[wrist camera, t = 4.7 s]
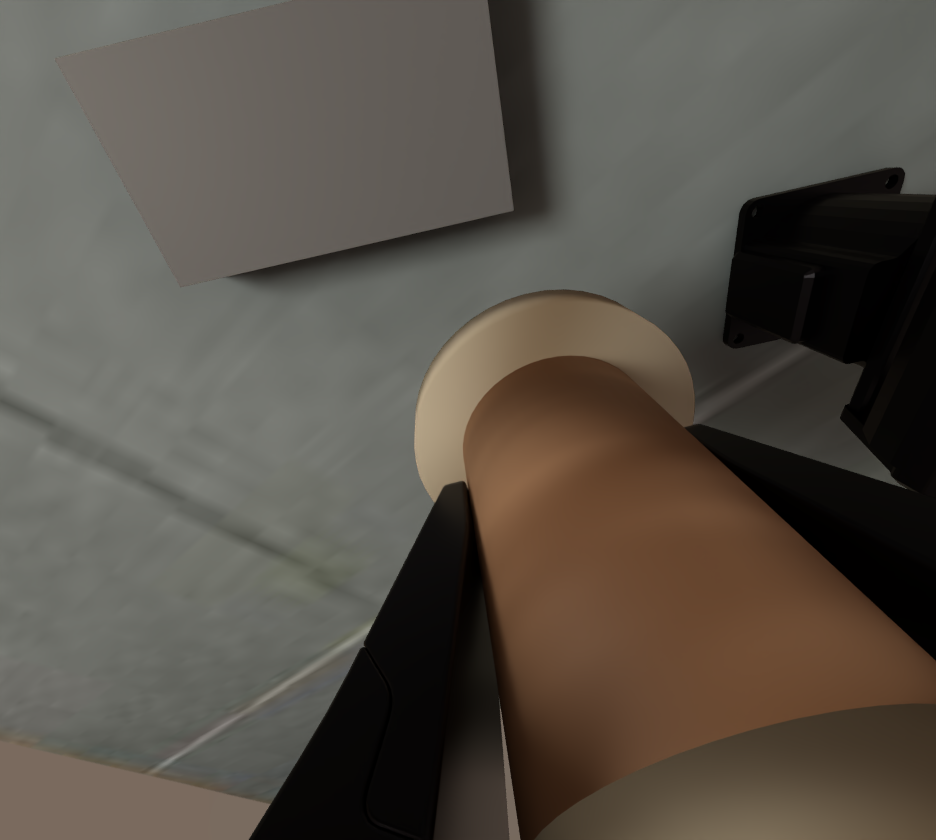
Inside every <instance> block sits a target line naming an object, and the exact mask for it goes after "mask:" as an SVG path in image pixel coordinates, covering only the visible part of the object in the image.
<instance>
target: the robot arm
mask: <svg viewBox="0 0 936 840" xmlns="http://www.w3.org/2000/svg"><path fill="white" fill-rule="evenodd" d="M904 177H905V173H904V170H903V169H902V168H884V169H879V170H875V171H871V172H866V173H862V174H857V175H853V176H849V177H844V178H840V179H835V180H831V181H827V182H822V183H818V184H813V185H809V186H805V187H800V188H796V189H791V190H787V191H783V192H778V193H774V194H770V195H765V196H761V197H756V198H752V199H750V200H748V201H747V202H746V203H745V204H744V205H743V206H742V208H741V210H740V213H739V220H738V227H737V235H736V242H735V250H734V257H733V259H732V264H731V272H730V280H729V288H728V295H727V303H726V319H725V327H724V334H723V342H724V343H725V345H727V346H729V347H731V348H741V347H745V346H750V345H755V344H759V343H764V342H768V341H773V340H777V339H783V340H786V341H788V342H790V343H794V344H796V343H798V344H800V345H803V346H805V347H807V348H810V349H812V350H814V351H817V352H819V353H821V354H824V355H826V356H829V357H831V358H833V359H836V360H838V361H840V362H843V363H845V364H850V363H855V364H857V365H860V366H862V367H864V369H863V372H862V374H861V377H860V379H859V381H858V384H857V386H856V389H855V391H854V393H853V396H852V398H851V401H850V403H849V404H847V405H845V407H844V409H843V411H842V414H841V416H840V419H841V420H842V421H843V422H844V423H845V424H846V426H847V427H848V428H849V429H850V430H851V431H852V432H853V433H854V434H855V435H856V436H857V437H858V438H859V439H860V440H861V441H862V442H863V443H864V445H865V446H866V447H867V448H868V449H869V450H870V451H871V452H872V453H873V454H874V455H875V456H876V457H877V458H878V459H879V460H880V461H881V462H882V463H883V465H884V466H885V467H886V468H887V469H888V470H889V471H890V472H891V476H892V477H893V478H894V479H895V480H896V481H897V482H898V483H899V484H900V485H902V486H904V487H905V488H907V489H905V488H902V487H898V486H895V485H892V484H889V483H886V482H883V481H879V480H876V479H873V478H870V477H867V476H864V475H860V474H857V473H854V472H851V471H848V470H845V469H841V468H838V467H835V466H832V465H829V464H826V463H822V462H819V461H816V460H813V459H810V458H806V457H803V456H800V455H797V454H794V453H791V452H787V451H784V450H781V449H778V448H775V447H772V446H768V445H765V444H762V443H759V442H756V441H753V440H749V439H746V438H743V437H740V436H737V435H734V434H730V433H727V432H724V431H721V430H718V429H715V428H711V427H708V426H705V425H702V424H695V425H691V426H687V427H684V428H685V429H686V430H687V431H688V432H689V433H691V434H692V435H693V436H694V437H695V438H696V439H697V440H698V441H699V442H700V443H701V444H702V445H703V446H705V447H706V448H707V449H708V450H709V451H710V452H711V453H712V454H713V455H714V456H715V457H716V458H718V459H719V460H720V461H721V462H722V463H723V464H724V465H725V466H726V467H727V468H728V469H729V470H730V471H732V472H733V473H734V474H735V475H736V476H737V477H738V478H739V479H740V480H741V481H742V482H743V483H744V484H746V485H747V486H748V487H749V488H750V489H751V490H752V491H753V492H754V493H755V494H756V495H757V496H759V497H760V498H761V499H762V500H763V501H764V502H765V503H766V504H767V505H768V506H769V507H770V508H771V509H773V510H774V511H775V512H776V513H777V514H778V515H779V516H780V517H781V518H782V519H783V520H784V521H785V522H787V523H788V524H789V525H790V526H791V527H792V528H793V529H794V530H795V531H796V532H797V533H798V534H800V535H801V536H802V537H803V538H804V539H805V540H806V541H807V542H808V543H809V544H810V545H811V546H812V547H814V548H815V549H816V550H817V551H818V552H819V553H820V554H821V555H822V556H823V557H824V558H825V559H826V560H828V561H829V562H830V563H831V564H832V565H833V566H834V567H835V568H836V569H837V570H838V571H839V572H841V573H842V574H843V575H844V576H845V577H846V578H847V579H848V580H849V581H850V582H851V583H852V584H853V585H855V586H856V587H857V588H858V589H859V590H860V591H861V592H862V593H863V594H864V595H865V596H866V597H867V598H869V599H870V600H871V601H872V602H873V603H874V604H875V605H876V606H877V607H878V608H879V609H880V610H882V611H883V612H884V613H885V614H886V615H887V616H888V617H889V618H890V619H891V620H892V621H893V622H894V623H896V624H897V625H898V626H899V627H900V628H901V629H902V630H903V631H904V632H905V633H906V634H907V635H908V636H910V637H911V638H912V639H913V640H914V641H915V642H916V643H917V644H918V645H919V646H920V647H921V648H923V649H924V650H925V651H926V652H927V653H928V654H929V655H930V656H931V657H932V658H933V659H934V660H935V661H936V195H926V194H900V191H901V188H902V184H903V181H904ZM888 178H889V181H888V183H887V184H886V185H885V183H886V181H887V179H888ZM755 207H757V212H756V214H755V215H754V217H752V211H753V209H754V208H755ZM737 334H738V337H737V338H736V339H735V340H733V339H734V337H735V336H736V335H737ZM364 646H365V647H362V648H361V649H360V650H359V652H358V654H357V656H356V658H355V660H354V662H353V664H352V666H351V668H350V670H349V672H348V674H347V676H346V677H345V679H344V681H343V683H342V685H341V687H340V689H339V690H338V692H337V694H336V696H335V698H334V700H333V702H332V703H331V705H330V707H329V709H328V711H327V713H326V714H325V716H324V718H323V719H322V721H321V723H320V724H319V726H318V728H317V729H316V731H315V733H314V734H313V736H312V738H311V739H310V741H309V743H308V744H307V746H306V748H305V749H304V751H303V753H302V755H301V756H300V758H299V760H298V761H297V763H296V764H295V766H294V768H293V769H292V771H291V772H290V774H289V776H288V777H287V779H286V780H285V782H284V784H283V785H282V787H281V788H280V790H279V792H278V793H277V795H276V797H275V798H274V800H273V801H272V803H271V805H270V806H269V808H268V809H267V811H266V813H265V815H264V816H263V817H262V819H261V821H260V822H259V824H258V825H257V827H256V829H255V830H254V832H253V833H252V835H251V837H250V839H249V840H509V828H508V815H507V801H506V788H505V773H504V760H503V747H502V733H501V721H500V720H501V719H500V705H499V692H498V685H497V679H496V672H495V665H494V659H493V652H492V645H491V639H490V632H489V625H488V619H487V612H486V605H485V599H484V592H483V585H482V579H481V572H480V565H479V559H478V552H477V545H476V539H475V532H474V525H473V518H472V512H471V505H470V498H469V492H468V488H467V485H466V483H465V482H464V481H458V482H454V483H450V484H446V485H445V486H443V488H442V490H441V492H440V494H439V496H438V498H437V500H436V502H435V504H434V506H433V507H432V509H431V511H430V513H429V515H428V517H427V519H426V521H425V523H424V525H423V527H422V529H421V531H420V533H419V535H418V537H417V539H416V541H415V543H414V545H413V547H412V549H411V551H410V553H409V555H408V557H407V559H406V560H405V562H404V564H403V566H402V568H401V570H400V572H399V574H398V576H397V578H396V580H395V582H394V584H393V586H392V588H391V590H390V592H389V594H388V596H387V598H386V600H385V602H384V604H383V606H382V608H381V610H380V612H379V613H378V615H377V617H376V619H375V621H374V623H373V625H372V627H371V629H370V631H369V633H368V635H367V637H366V639H365V641H364Z"/></svg>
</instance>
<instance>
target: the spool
mask: <svg viewBox="0 0 936 840" xmlns="http://www.w3.org/2000/svg"><path fill="white" fill-rule="evenodd" d="M694 412H695V394H694V387H693V381H692V377H691V374H690V371H689V369H688V366H687V363H686V361H685V360H684V358H683V356H682V354H681V352H680V351H679V349H678V348H677V347H676V345H675V344H674V343H673V342H672V340H671V339H670V338H669V337H668V336H667V335H666V334H665V333H664V332H662V331H661V330H660V329H659V328H658V327H657V326H656V325H654V324H652V323H651V322H649V321H647V320H646V319H644V318H643V317H641V316H639V315H638V314H636V313H634V312H633V311H631V310H629V309H628V308H626V307H624V306H623V305H621V304H619V303H618V302H616V301H613V300H611V299H608V298H606V297H603V296H601V295H597V294H593V293H588V292H584V291H575V290H544V291H539V292H533V293H528V294H524V295H521V296H517V297H514V298H511V299H508V300H505V301H503V302H501V303H499V304H497V305H495V306H493V307H490V308H488V309H487V310H485V311H483V312H482V313H480V314H479V315H477V316H476V317H474V318H472V319H471V320H470V321H469V322H467V323H466V324H465V325H464V326H463V327H461V328H460V329H459V330H458V331H456V332H455V334H454V335H453V336H452V337H451V338H450V339H449V340H448V341H447V342H446V343H445V344H444V345H443V347H442V348H441V350H440V351H439V352H438V354H437V355H436V357H435V358H434V359H433V361H432V363H431V365H430V367H429V369H428V370H427V372H426V374H425V376H424V379H423V382H422V385H421V388H420V390H419V394H418V399H417V404H416V416H415V445H414V448H415V457H416V464H417V467H418V471H419V475H420V478H421V480H422V482H423V484H424V486H425V489H426V491H427V492H428V494H429V495H430V497H431V498H432V500H433V501H434V503H435V502H436V500H437V498H438V496H439V494H440V492H441V490H442V488H443V486H445V485H446V484H450V483H454V482H458V481H464V482H465V483H466V485H467V488H468V492H469V498H470V505H471V512H472V518H473V525H474V532H475V539H476V545H477V552H478V559H479V565H480V572H481V579H482V585H483V592H484V599H485V605H486V612H487V619H488V625H489V632H490V639H491V645H492V652H493V659H494V665H495V672H496V679H497V685H498V692H499V699H500V705H501V712H502V719H503V725H504V732H505V739H506V745H507V752H508V759H509V765H510V772H511V779H512V786H513V791H514V799H515V806H516V812H517V819H518V826H519V832H520V839H521V840H936V661H935V660H934V659H933V658H932V657H931V656H930V655H929V654H928V653H927V652H926V651H925V650H924V649H923V648H921V647H920V646H919V645H918V644H917V643H916V642H915V641H914V640H913V639H912V638H911V637H910V636H908V635H907V634H906V633H905V632H904V631H903V630H902V629H901V628H900V627H899V626H898V625H897V624H896V623H894V622H893V621H892V620H891V619H890V618H889V617H888V616H887V615H886V614H885V613H884V612H883V611H882V610H880V609H879V608H878V607H877V606H876V605H875V604H874V603H873V602H872V601H871V600H870V599H869V598H867V597H866V596H865V595H864V594H863V593H862V592H861V591H860V590H859V589H858V588H857V587H856V586H855V585H853V584H852V583H851V582H850V581H849V580H848V579H847V578H846V577H845V576H844V575H843V574H842V573H841V572H839V571H838V570H837V569H836V568H835V567H834V566H833V565H832V564H831V563H830V562H829V561H828V560H826V559H825V558H824V557H823V556H822V555H821V554H820V553H819V552H818V551H817V550H816V549H815V548H814V547H812V546H811V545H810V544H809V543H808V542H807V541H806V540H805V539H804V538H803V537H802V536H801V535H800V534H798V533H797V532H796V531H795V530H794V529H793V528H792V527H791V526H790V525H789V524H788V523H787V522H785V521H784V520H783V519H782V518H781V517H780V516H779V515H778V514H777V513H776V512H775V511H774V510H773V509H771V508H770V507H769V506H768V505H767V504H766V503H765V502H764V501H763V500H762V499H761V498H760V497H759V496H757V495H756V494H755V493H754V492H753V491H752V490H751V489H750V488H749V487H748V486H747V485H746V484H744V483H743V482H742V481H741V480H740V479H739V478H738V477H737V476H736V475H735V474H734V473H733V472H732V471H730V470H729V469H728V468H727V467H726V466H725V465H724V464H723V463H722V462H721V461H720V460H719V459H718V458H716V457H715V456H714V455H713V454H712V453H711V452H710V451H709V450H708V449H707V448H706V447H705V446H703V445H702V444H701V443H700V442H699V441H698V440H697V439H696V438H695V437H694V436H693V435H692V434H691V433H689V432H688V431H687V430H686V429H685V428H684V427H687V426H691V425H693V419H694Z"/></svg>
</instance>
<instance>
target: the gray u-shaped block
mask: <svg viewBox="0 0 936 840" xmlns="http://www.w3.org/2000/svg"><path fill="white" fill-rule="evenodd" d="M54 59H55V60H56V62H57V64H58V66H59V68H60V69H61V71H62V73H63V75H64V77H65V79H66V80H67V82H68V84H69V86H70V88H71V89H72V91H73V93H74V95H75V97H76V99H77V100H78V102H79V104H80V106H81V108H82V109H83V111H84V113H85V115H86V117H87V118H88V120H89V122H90V124H91V126H92V128H93V129H94V131H95V133H96V135H97V137H98V138H99V140H100V142H101V144H102V146H103V148H104V149H105V151H106V153H107V155H108V157H109V158H110V160H111V162H112V164H113V166H114V167H115V169H116V171H117V173H118V175H119V177H120V178H121V180H122V182H123V184H124V186H125V187H126V189H127V191H128V193H129V195H130V197H131V198H132V200H133V202H134V204H135V206H136V207H137V209H138V211H139V213H140V215H141V216H142V218H143V220H144V222H145V224H146V226H147V227H148V229H149V231H150V233H151V235H152V236H153V238H154V240H155V242H156V244H157V246H158V247H159V249H160V251H161V253H162V255H163V256H164V258H165V260H166V262H167V264H168V265H169V267H170V269H171V271H172V273H173V275H174V276H175V278H176V280H177V282H178V284H179V285H180V287H184V286H188V285H193V284H197V283H201V282H206V281H210V280H215V279H219V278H223V277H228V276H232V275H236V274H241V273H245V272H249V271H254V270H258V269H262V268H267V267H271V266H275V265H280V264H284V263H288V262H293V261H297V260H301V259H306V258H310V257H315V256H319V255H323V254H328V253H332V252H336V251H341V250H345V249H349V248H354V247H358V246H362V245H367V244H371V243H375V242H380V241H384V240H388V239H393V238H397V237H401V236H406V235H410V234H415V233H419V232H423V231H428V230H432V229H436V228H441V227H445V226H449V225H454V224H458V223H462V222H467V221H471V220H475V219H480V218H484V217H488V216H493V215H497V214H501V213H506V212H510V211H514V208H513V200H512V192H511V184H510V176H509V168H508V160H507V152H506V144H505V136H504V128H503V120H502V112H501V104H500V96H499V88H498V80H497V72H496V64H495V56H494V48H493V40H492V32H491V24H490V16H489V8H488V0H292V1H288V2H284V3H280V4H275V5H271V6H267V7H263V8H259V9H255V10H251V11H247V12H243V13H239V14H234V15H230V16H226V17H222V18H218V19H214V20H210V21H206V22H202V23H198V24H193V25H189V26H185V27H181V28H177V29H173V30H169V31H165V32H161V33H157V34H152V35H148V36H144V37H140V38H136V39H132V40H128V41H124V42H120V43H115V44H111V45H107V46H103V47H99V48H95V49H91V50H87V51H83V52H79V53H74V54H70V55H66V56H62V57H58V58H54Z"/></svg>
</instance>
